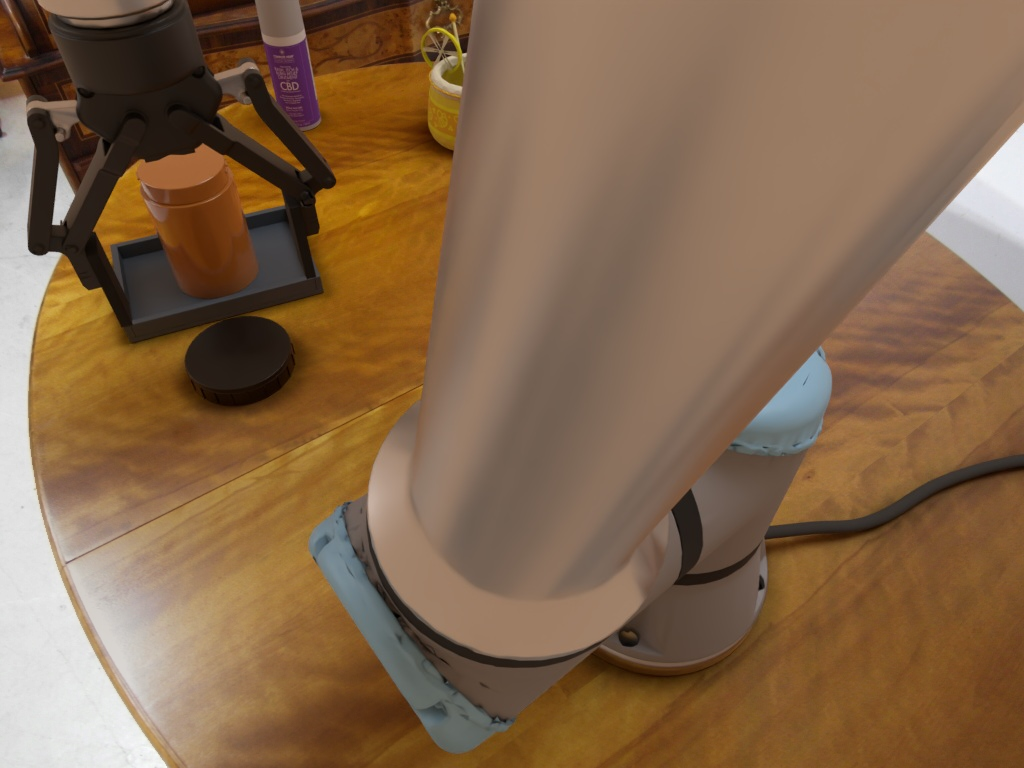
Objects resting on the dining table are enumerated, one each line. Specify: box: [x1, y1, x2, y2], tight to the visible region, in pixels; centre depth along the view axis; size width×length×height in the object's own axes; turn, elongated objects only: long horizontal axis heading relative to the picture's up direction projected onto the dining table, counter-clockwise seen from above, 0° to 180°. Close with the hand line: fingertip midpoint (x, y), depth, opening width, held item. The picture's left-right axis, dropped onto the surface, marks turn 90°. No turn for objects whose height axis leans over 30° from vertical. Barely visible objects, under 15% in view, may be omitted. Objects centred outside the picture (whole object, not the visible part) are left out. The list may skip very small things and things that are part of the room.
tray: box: [109, 204, 325, 344], centre depth 73 cm, size 17×12×2 cm
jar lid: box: [184, 315, 297, 407], centre depth 65 cm, size 9×9×2 cm
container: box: [254, 0, 322, 132], centre depth 87 cm, size 5×5×15 cm
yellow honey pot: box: [420, 12, 467, 152], centre depth 87 cm, size 13×11×12 cm
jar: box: [135, 144, 259, 299], centre depth 69 cm, size 8×8×12 cm
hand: (219, 291), depth 59 cm, fingers open, 13 cm apart
